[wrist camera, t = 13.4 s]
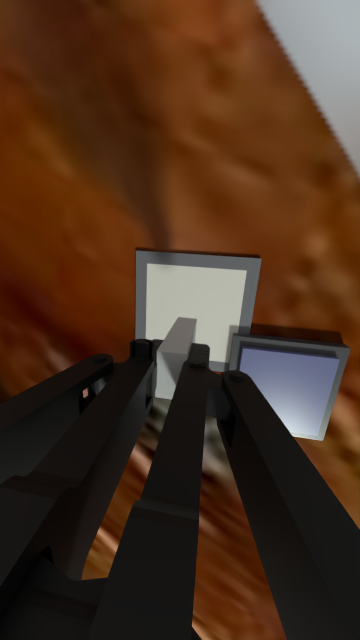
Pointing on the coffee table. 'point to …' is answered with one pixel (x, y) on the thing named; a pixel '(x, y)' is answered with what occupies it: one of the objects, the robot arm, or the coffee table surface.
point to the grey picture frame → (196, 298)
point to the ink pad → (293, 377)
